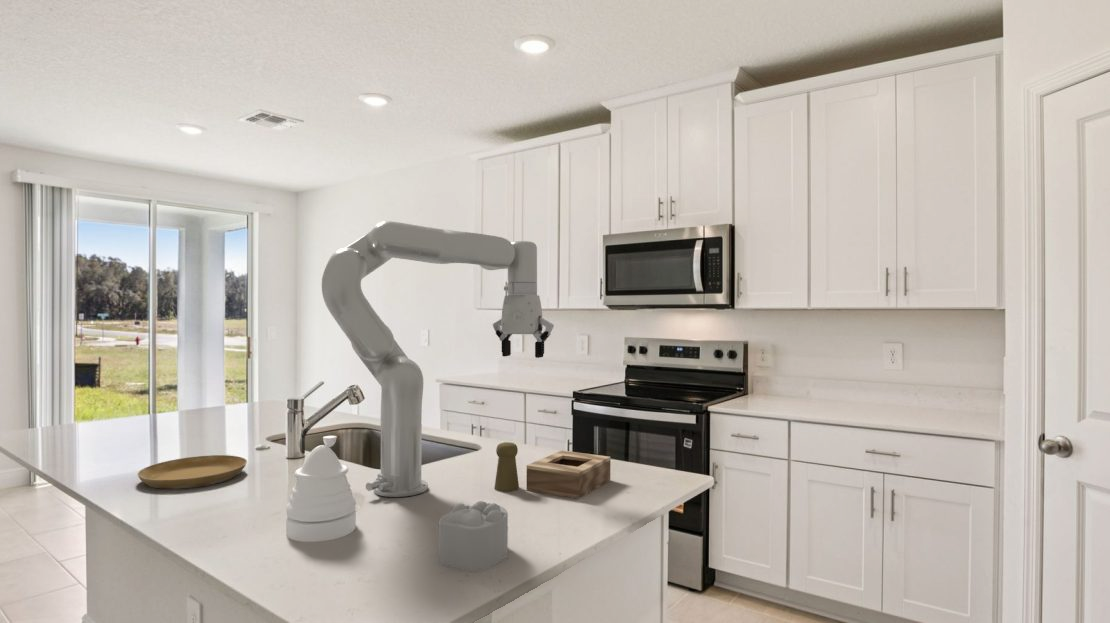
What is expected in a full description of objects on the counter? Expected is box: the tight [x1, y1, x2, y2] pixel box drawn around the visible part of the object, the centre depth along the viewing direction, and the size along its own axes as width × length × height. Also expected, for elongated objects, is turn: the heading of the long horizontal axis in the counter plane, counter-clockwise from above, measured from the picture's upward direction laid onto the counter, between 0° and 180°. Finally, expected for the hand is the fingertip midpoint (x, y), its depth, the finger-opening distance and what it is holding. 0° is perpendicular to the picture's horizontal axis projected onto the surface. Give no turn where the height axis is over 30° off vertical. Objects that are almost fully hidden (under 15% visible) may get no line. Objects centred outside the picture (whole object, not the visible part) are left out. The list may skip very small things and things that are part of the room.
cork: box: [494, 441, 520, 493], centre depth 154 cm, size 6×6×11 cm
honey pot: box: [285, 435, 357, 543], centre depth 125 cm, size 13×13×18 cm
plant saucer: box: [137, 454, 248, 490], centre depth 162 cm, size 24×24×3 cm
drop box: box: [526, 450, 611, 499], centre depth 157 cm, size 18×14×6 cm
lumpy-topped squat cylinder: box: [438, 500, 509, 572], centre depth 113 cm, size 10×13×9 cm
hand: (522, 356), depth 163 cm, fingers open, 9 cm apart
